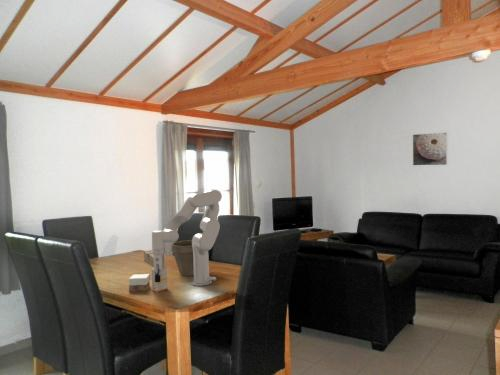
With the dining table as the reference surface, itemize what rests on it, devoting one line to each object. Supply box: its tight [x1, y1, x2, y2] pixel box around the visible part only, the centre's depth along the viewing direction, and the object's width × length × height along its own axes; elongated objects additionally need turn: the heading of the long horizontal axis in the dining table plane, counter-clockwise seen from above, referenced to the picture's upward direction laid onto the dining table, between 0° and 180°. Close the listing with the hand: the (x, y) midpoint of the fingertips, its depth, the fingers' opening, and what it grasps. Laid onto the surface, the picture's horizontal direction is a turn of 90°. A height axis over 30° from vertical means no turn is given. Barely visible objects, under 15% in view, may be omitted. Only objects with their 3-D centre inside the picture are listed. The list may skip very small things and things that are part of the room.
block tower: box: [143, 249, 154, 267], centre depth 317 cm, size 8×8×29 cm
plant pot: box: [170, 239, 194, 277], centre depth 278 cm, size 25×25×22 cm
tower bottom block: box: [128, 281, 151, 292], centre depth 241 cm, size 10×10×4 cm
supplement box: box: [151, 266, 169, 293], centre depth 238 cm, size 8×5×13 cm, turn 140°
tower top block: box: [128, 273, 151, 286], centre depth 241 cm, size 10×10×4 cm
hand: (159, 280), depth 238 cm, fingers closed on supplement box, 9 cm apart
